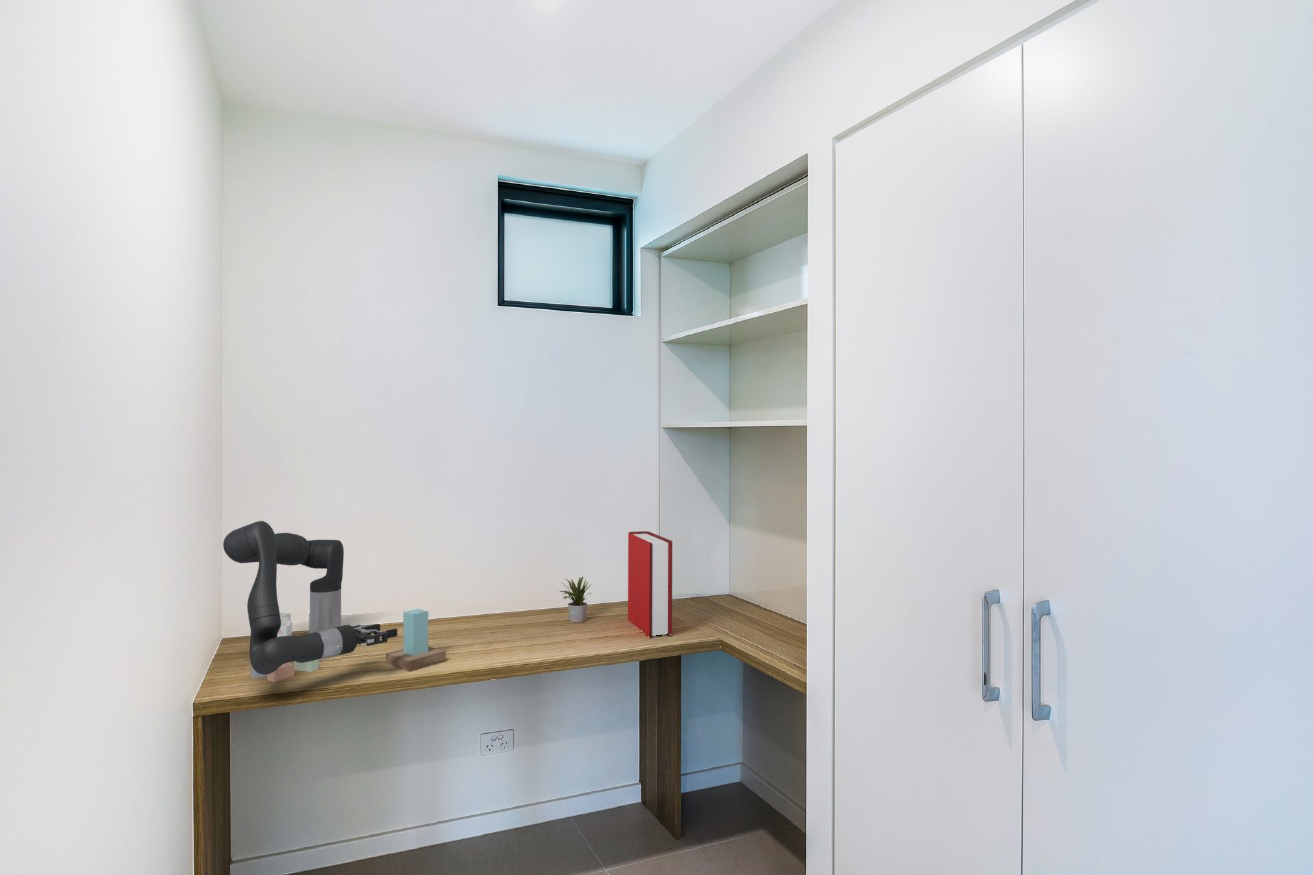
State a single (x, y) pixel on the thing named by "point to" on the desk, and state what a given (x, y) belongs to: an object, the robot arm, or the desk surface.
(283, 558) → the robot arm
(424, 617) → the tall teal brick
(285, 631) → the ink cartridge box
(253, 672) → the slate brick
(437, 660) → the walnut block
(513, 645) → the desk surface
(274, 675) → the terracotta brick
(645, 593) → the book
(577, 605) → the house plant
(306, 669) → the sage brick
